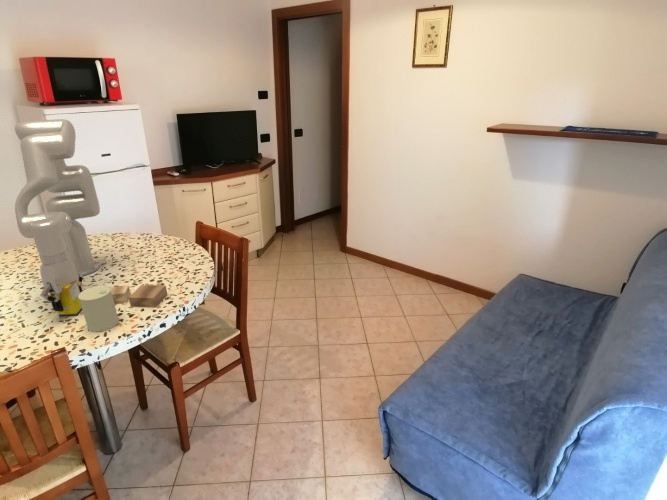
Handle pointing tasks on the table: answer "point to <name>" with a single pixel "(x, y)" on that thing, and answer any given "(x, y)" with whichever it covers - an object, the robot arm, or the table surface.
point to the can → (98, 308)
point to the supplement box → (70, 300)
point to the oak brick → (120, 294)
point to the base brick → (148, 296)
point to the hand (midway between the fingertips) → (69, 303)
